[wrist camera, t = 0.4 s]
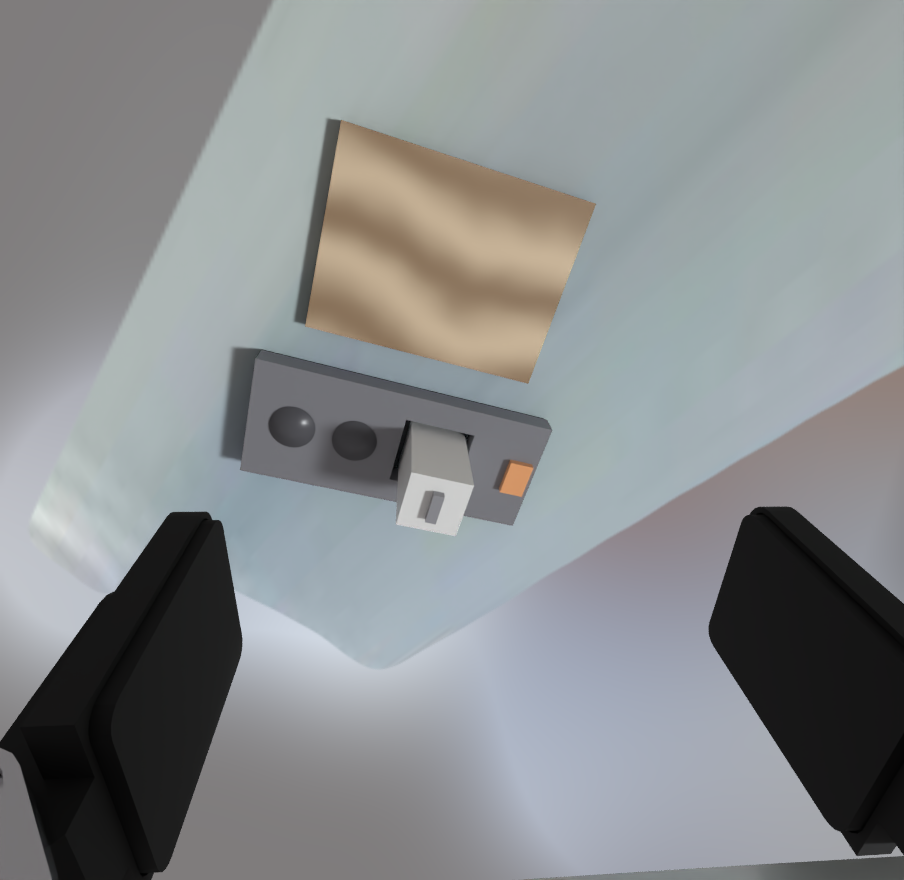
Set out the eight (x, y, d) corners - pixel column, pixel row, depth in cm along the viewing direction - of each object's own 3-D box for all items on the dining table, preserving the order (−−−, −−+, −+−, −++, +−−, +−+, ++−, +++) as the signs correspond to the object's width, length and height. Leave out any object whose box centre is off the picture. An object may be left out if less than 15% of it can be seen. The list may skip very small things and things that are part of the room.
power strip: (261, 349, 43) (253, 361, 40) (547, 419, 47) (553, 433, 45) (246, 458, 47) (238, 473, 45) (509, 512, 51) (513, 529, 49)
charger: (411, 417, 46) (411, 476, 38) (463, 429, 47) (474, 490, 39) (398, 462, 48) (395, 529, 40) (448, 473, 49) (456, 541, 41)
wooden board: (342, 120, 36) (341, 119, 35) (592, 203, 39) (595, 203, 39) (306, 323, 42) (305, 326, 41) (526, 379, 45) (528, 383, 45)
